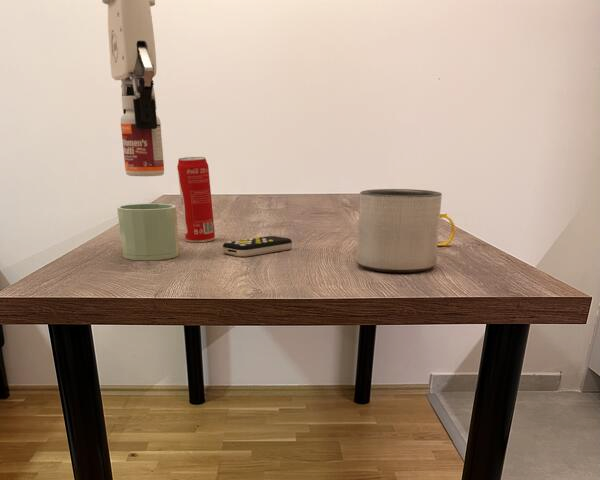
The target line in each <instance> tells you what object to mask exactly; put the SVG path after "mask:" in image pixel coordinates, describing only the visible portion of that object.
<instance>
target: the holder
mask: <svg viewBox="0 0 600 480" xmlns="http://www.w3.org/2000/svg"><path fill="white" fill-rule="evenodd" d="M116 210H117V219H118V228H119V236H120V237H119V238H120V246H121V252H122V253H121V254H122V258H124V259H127V260H132V261H142V262H143V261H144V262H145V261H149V262H151V261H163V260H170V259H174V258H177V257H179V255H180V244H179V242H180V241H179V232H178V230H179V229H178V218H177V217H178V216H177V206H176V205H174V204H169V203H133V204H132V203H131V204H130V203H129V204H124V205H123V204H122V205H119V206H117V207H116Z"/></svg>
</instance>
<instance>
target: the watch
mask: <svg viewBox="0 0 600 480" xmlns="http://www.w3.org/2000/svg"><path fill="white" fill-rule="evenodd" d="M442 218H443V219H447V220H448V222H449V224H451V233H450V236H449V238H448V239H447V240H446V241H445V242H438V246H437V247H447V246H448V245H449V244H450V243H451V242H452V241H453V239H454V237H455V235H456V225H455V222H454V221H453V220H452V218H451V217H450V216H448V213H447V212H443V211H440V219H442Z"/></svg>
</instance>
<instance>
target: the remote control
mask: <svg viewBox="0 0 600 480" xmlns="http://www.w3.org/2000/svg"><path fill="white" fill-rule="evenodd" d="M292 247H293V241H292V239H291V238H289V237H282V236H276V235H268V236H261V237H259V236H258V237H254V238H253V237H250V238H242V239H240V240H231V241H228V240H227V241H225V242H224V243H223V244H222V252H223V253H224V254H225V255H229V256H234V257H239V258H247V257H253V256H260V255H265V254H266V255H267V254H270V253H272V254H273V253H277V252H283V251H288V250H291V249H292Z"/></svg>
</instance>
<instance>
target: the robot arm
mask: <svg viewBox="0 0 600 480" xmlns="http://www.w3.org/2000/svg"><path fill="white" fill-rule="evenodd" d="M102 3H103V4H104V5H107V33H108V47H109V61H110V73H111V77H112V79H113V80H115V81H120V82H121V85H120V87H121V97H122V96H135V98H136V99H133V104H134V114H135V124H136V128H137V129H156V128H157V118H156V115H157V109H156V107H157V105H156V106H155V100H154V99H156V94H155V89H154V85H155V83H154V80H153V78H155V77H156V76H157V53H156V42H155V34H154V33H155V32H154V25H153V16H152V11H151V7H154V6H155V5H156V0H102ZM122 112H123V115H124V114H125V113H126V109H123V108H122Z"/></svg>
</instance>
